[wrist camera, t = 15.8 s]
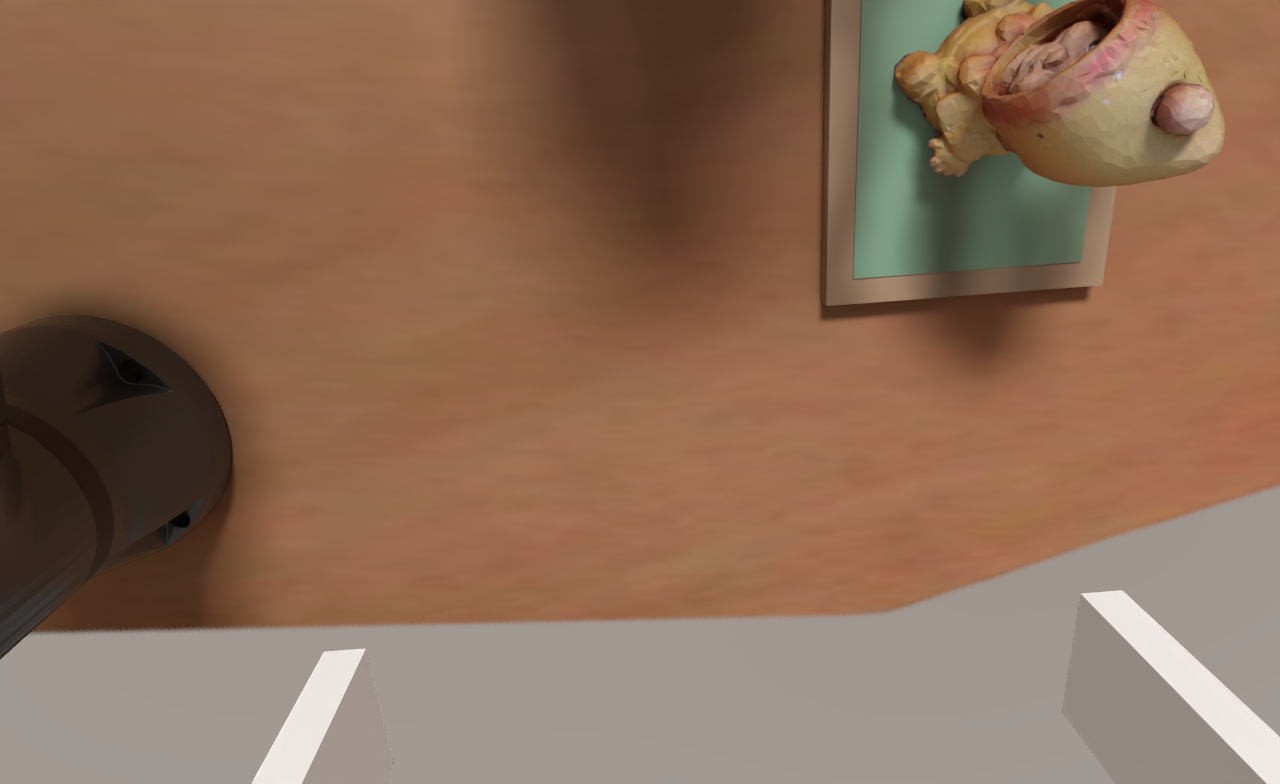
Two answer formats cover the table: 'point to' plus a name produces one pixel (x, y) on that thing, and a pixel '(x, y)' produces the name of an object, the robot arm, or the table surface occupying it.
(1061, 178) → the figurine
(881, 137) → the green framed board
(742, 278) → the table surface
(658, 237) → the table surface
